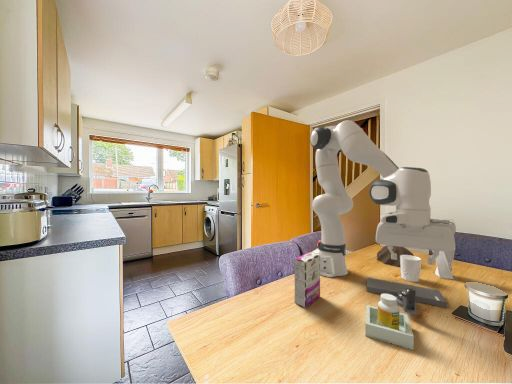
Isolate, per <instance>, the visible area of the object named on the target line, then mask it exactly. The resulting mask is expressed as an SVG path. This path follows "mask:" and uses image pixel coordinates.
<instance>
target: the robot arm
mask: <svg viewBox="0 0 512 384" xmlns="http://www.w3.org/2000/svg"><path fill="white" fill-rule="evenodd" d="M309 142H310V143H309V144H310V145H311V146H312V148H313V149H315V150H316V151H315V159H314V160H315V169H316V176H317V182H318V184H319V186H320V187H321V188H322V189H323V191H324V193H323V194H322V193H321V194H320V195H317V196H316V197H314V198H313V199H312V203H311V206H312V211H313V212H314V214H316V215H317V217H318V220H319V222H320V229H321V230H320V231H321V239H319V240H318V242H317V243H316V247H317V248H316V249H314V250H313V251H311V252H312V253H316V254H320V276H324V277H328V278H334V277H342V276H346V275H347V274H349V271H348V268H347V263H346V261H347V260H346V255H347V254H346V253H347V246H346V241H345V240H346V239H345V237H346V236H345V235H346V229H345V226H344V225H343V224H342V221H341V219H340V215H344V214H347V213H349V212H350V211H352V210H353V208H354V200H353V198H352V197H351V196H350V195H349V193H348V192H347V190H346V188H345V186H344V184H343V183H344V182H343V181H342V177H341V176H342V175H341V171H340V166H339V165H340V164H339V160H338V154H339V152H341V153H343V155H344V156H345V157H346V159H348V160H349V161H351V162H353V163H357V164H361V165H364V166H367V167H369V168H370V167H371V169H374V170H375V171H377V172H378V173H379V175H380V176H381V177H382V178H378V179H375V180H374V181H373V182H372V183H371V185H370V186H369V189H368V194H369V197H370V199H371V201H372V202H373V204H376V205H379V206H390V207H391V206H395V211H392V212H388V213H383V214H380V216H379V217H380V218H379V219H380V222H379V223H378V224H377V227H376V233H375V242H376V244H378V245H383V246H386V245H388V249H389V251H390V253H391V259H394V260H397V253H393V251H392V249H393V246H399V247H404V248H407V249H408V248H410V249H419V250H428V251H429V250H430V251H431V252H432V254H431V256H430V257H429V256H427V257H426V264H427V265H432V266H433V265H435V260H436V258H437V257H438V256H439V251H445V252H453V251H454V250H455V251H456V240H455V234H456V232H457V231H456V229H457V226H456V223H455V224H454V223H453V221H451V220H450V219H437V218H436V219H435V218H431V209H432V208H431V205H430V199H431V196H432V187H431V185H432V182H431V177H430V173H429V171H428V170H427V169H425V168H421V167H410V166H402V167H398V165H396V164H395V162H394V161H393V160H392V159H391V158H390V157H389V156H388V155H387V154H386V153H385V152H384V151H383V150H382V149H380V148H379V147H378V146H377V145H376V144H375V143H374V142H373V140H371V138H370V137H369V135H367V133H366V132H365V131H364V129H362V127H361V126H360V125H358V124H357V123H356V122H355V121H353V120H350V119H347V120H346V119H345V120H343V121H341V122H339V123H338V124H337V125H329V126H318V127H316V128H314V129H313V130H311V133H310V136H309ZM449 220H450V221H449ZM449 223H450V224H449Z"/></svg>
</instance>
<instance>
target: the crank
mask: <svg viewBox="0 0 512 384" xmlns="http://www.w3.org/2000/svg"><path fill="white" fill-rule="evenodd" d="M397 297H398V299H400V300H401V301H402V304H403V307H402V308H403V310H404V312H405V313H407V314H412V315H417V306H416V307H415V298H416V290H414V289H412V288H406V291H399V292H398V293H397Z"/></svg>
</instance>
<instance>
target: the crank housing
mask: <svg viewBox="0 0 512 384" xmlns="http://www.w3.org/2000/svg"><path fill="white" fill-rule="evenodd" d="M406 288H412V289H414V290H416V298H415V307H416V308H417V303H422V304H427V305H431V306H437V307H441V308H445V309H448V301H447V300H446V298H445V297H444V295H443V294H442V292H441V290H439V289H434V288H428V287H423V286H417V285H412V284H406V283H400V282H396V281H395V282H394V281H390V280H383V279H378V278H373V277H366V292H368V293H374V294H379V295H381V294H390V295H393V296H395V297H396V298H397V303H396V304H397V305H398V307H399V306H400V307H402V308H403V304H402V301H401V300H400V299H398V297H397V293H398V292H399V291H406Z"/></svg>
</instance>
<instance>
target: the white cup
mask: <svg viewBox="0 0 512 384" xmlns="http://www.w3.org/2000/svg"><path fill="white" fill-rule="evenodd" d="M421 264H422V258H421V257H419V256H415V255H414V256H411V255H400V266H401V267H400V277H401V279H402V280H405V281H407V282H413V283H418V282H420V275H421Z"/></svg>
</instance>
